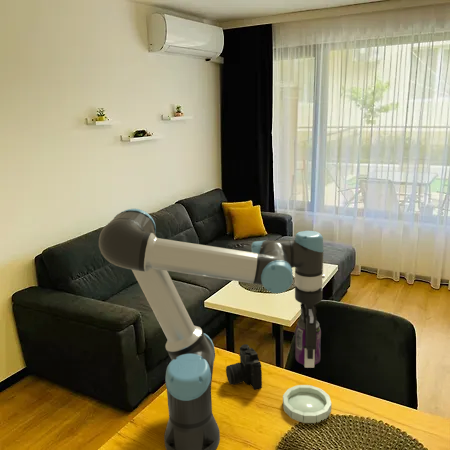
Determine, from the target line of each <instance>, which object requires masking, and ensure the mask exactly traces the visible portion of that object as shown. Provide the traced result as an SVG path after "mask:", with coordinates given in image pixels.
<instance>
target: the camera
mask: <svg viewBox="0 0 450 450" xmlns="http://www.w3.org/2000/svg"><path fill="white" fill-rule="evenodd" d="M258 355H259V354H258V353H257V351H256V350H255V349H253V348H252V347H250V346H249V344H242V345H240V347H239V355H238V356H239V362H236V363H233V364H229V365H227V366H226V367H225V374H226V379H227V381H228V385H231V386H232V385H235V386H236V385H239V384H242V383H244V384H246V385H247V386H251V387H252V389H253V390H254V391H257V390H258V391H259V390H261V389H262V388H263V373H262V372H263V371H262V364H261V361H260V358H259V356H258Z"/></svg>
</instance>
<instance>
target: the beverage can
mask: <svg viewBox="0 0 450 450" xmlns="http://www.w3.org/2000/svg"><path fill="white" fill-rule="evenodd" d="M321 337H322V330H321V327H320V323H319V321H318V320H316V350H315V362H314V366H315V365H317V364H319V363H320V362H321V339H322V338H321ZM305 345H306V343H305V323H304V322H303V319H301V318H300V319H299V320H298V321H297V325H296V326H295V353H294V355H295V360H296V362H297V363H299V364H301V365H303V366H304V359H305V348H303V346H305Z"/></svg>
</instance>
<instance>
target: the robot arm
mask: <svg viewBox="0 0 450 450" xmlns="http://www.w3.org/2000/svg"><path fill="white" fill-rule="evenodd" d="M156 232H157V228H156V223H155V220H154V219H153V217H152V215H150V214H149V213H148V212H147V211H144V210H142V209H139V208H128V209H125V210H123V211H121V212H119V213H117V214H116V215H115V216H114V217H113V219H112V220H111V221H110V222H108V223H107V224H106V225H105V226H104V227H103V228H102V230H101V231H100V234H99V237H98V248H99V251H100V254H101V255H102V256H103V257H104V259H105V260H106V261H107V262H108V263H110V264H112V265H114V266H116V267H120V268H123V269H127V270H131V271H132V273H133V275H134V277H135V279H136V281H137V282H138V285H139V287H140V289H141V290H142V292H143V294H144V296H145V298H146V300H147V302H148V304H149V307H150V308H151V310H152V312H153V315H154V316H155V318H156V320H157V322H158V324H159V325H160V328H161V329H162V331H163V333H164V335H165V337H166V339H167V341H166V343H165V350H166V351H167V353H168V356H169V357H170V359H171V360H170V362H169V364H168V365H167V367H166V369H165V370H166V371H165V379H164V380H165V381H164V382H165V387H166V394H167V395H166V396H167V406H168V407H167V409H168V416H169V417H168V421H167V424H166V428H165V431H164V438H163V439H164V447H165V450H217V449H218V446H219V444H220V441H221V440H220V438H221V435H220V429H219V425H218V423H217V420H216V419H215V415H214V414H213V405H212V404H213V403H212V402H213V401H212V381H213V373H214V362H215V360H216V351H215V350H216V349H215V345H214V343H213V340H212V338H210V336H209V335H208V334H206V333H204V331H203V329H202V328H201V327H200V326H197V325H194V323H193V321H192V319H191V317H190V314H189V312H188V310H187V309H186V306H185V305H184V302H183V300H182V298H181V296H180V294H179V291H178V290H177V288H176V286H175V284H174V282H173V280H172V277H171V276H170V274H169V272H175V273H180V274H186V275H187V274H188V275H194V276H200V277H208V278H213V279H221V280H228V281H235V282H239V283H241V282H242V283H248V284H254V285H260V286H263V288H264V289H265V290H267V292H269V293H272V294H282V293H284V292H286V291H287V290H289V289H290V287H291V286H292V284H293V281H294V298H295V301H297V302H298V303H300V320H301V319H303V322H304V323H305V343H306V345H305V346H303V348H305V359H304V365H303V366H304V368H307V369H308V368H310V369H311V368H314V369H315V365H314V362H315V350H316V321H317V320H318V319H317V315H316V314H317V307H316V304H319V303H321V302H322V300H323V279H325V278H326V277H325V276H326V275H325V274H323V273H324V252H325V249H324V236H323V235H322V234H321V233H320V232H319V231H315V230H303V231H298V232H297V233H296V234H295V237H294V239H291V240H290V239H289V240H288V239H287V240H265V239H264V240H257V241H253V242H252V243H251V251H244V250H241V249H239V250H238V249H231V248H227V247H226V248H225V247H219V246H212V245H207V244H206V245H205V244H201V243H200V244H199V243H191V242H185V241H178V240H173V239H167V238H159V237H157V235H156ZM293 268H294V272H293Z"/></svg>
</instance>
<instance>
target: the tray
mask: <svg viewBox="0 0 450 450" xmlns="http://www.w3.org/2000/svg"><path fill="white" fill-rule="evenodd" d="M282 407H283V412H285V414H286V415H288V416H289V418H291V420H293V421H294V420H295V421H297V422H299V423H302V424H317V423H320V422H321V420H322V421H325V420H327V419H328V417H329V415H330V414H331V412H332V401H331V396H330V395H329V394H328V393H327V392H326V391H325V390H323V389H322V388H320V387H317V386H315V385H314V386H313V385H311V384H297V385H294V386H292V387H289V388H287V389H286V391H285V392H284V393H283V395H282ZM324 419H325V420H324ZM316 422H317V423H316Z"/></svg>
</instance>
